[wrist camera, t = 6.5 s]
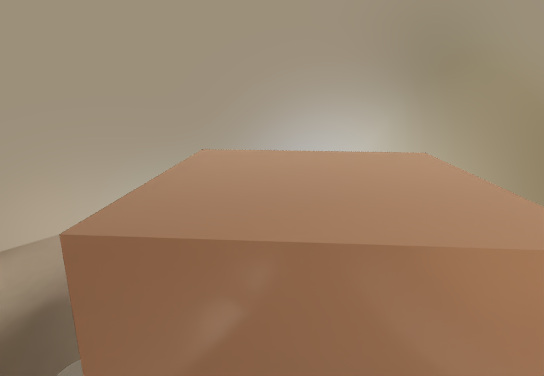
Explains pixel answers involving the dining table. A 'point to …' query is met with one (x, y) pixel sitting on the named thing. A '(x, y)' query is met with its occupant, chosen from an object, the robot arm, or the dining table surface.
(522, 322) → the orange brown block
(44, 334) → the dining table surface
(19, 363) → the dining table surface
